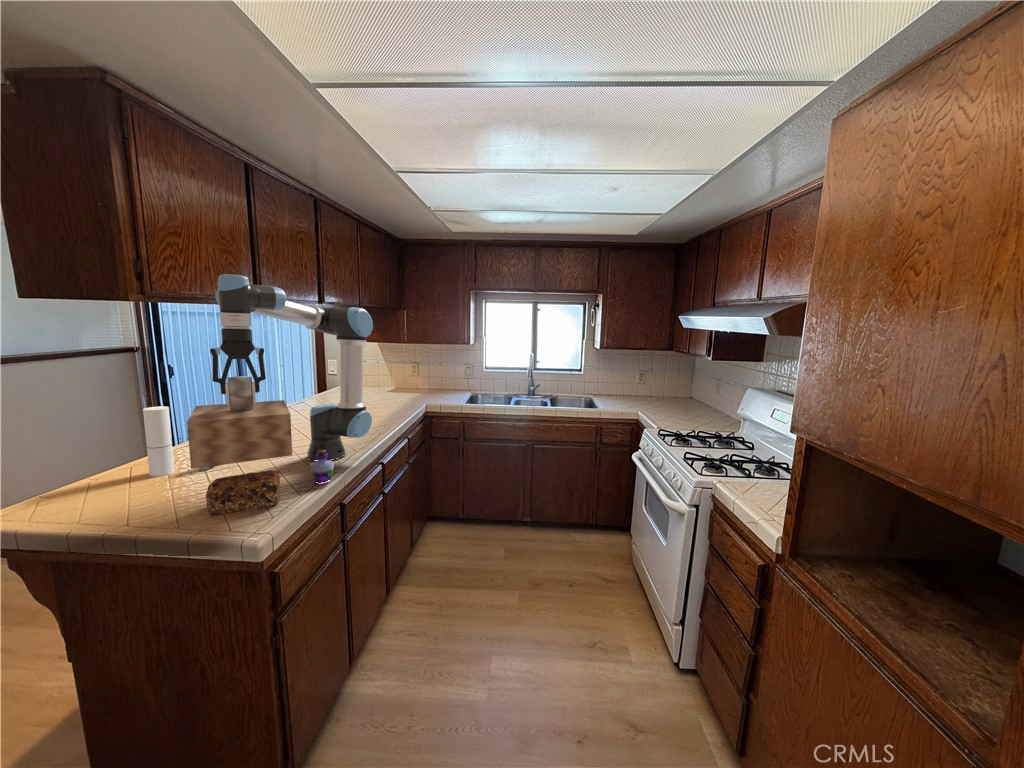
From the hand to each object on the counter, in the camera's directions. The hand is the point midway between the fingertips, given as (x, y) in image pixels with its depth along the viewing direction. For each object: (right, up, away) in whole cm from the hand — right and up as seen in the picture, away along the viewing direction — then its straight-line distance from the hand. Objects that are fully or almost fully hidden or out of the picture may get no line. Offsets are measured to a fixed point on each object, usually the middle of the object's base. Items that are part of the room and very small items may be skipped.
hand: (241, 403), depth 123 cm
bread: (-2, -33, +4) cm, 33 cm away
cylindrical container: (-49, -28, +28) cm, 63 cm away
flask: (-36, -27, +36) cm, 58 cm away
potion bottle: (+13, -30, +25) cm, 41 cm away
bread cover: (0, -15, +2) cm, 15 cm away
